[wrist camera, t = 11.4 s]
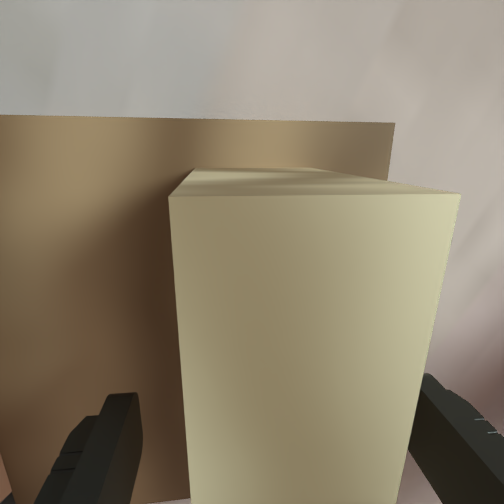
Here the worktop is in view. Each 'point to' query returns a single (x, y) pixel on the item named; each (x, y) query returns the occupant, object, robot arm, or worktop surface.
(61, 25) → the worktop surface
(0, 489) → the tile
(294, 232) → the cream wooden beam
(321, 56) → the worktop surface
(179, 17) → the worktop surface
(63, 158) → the board
